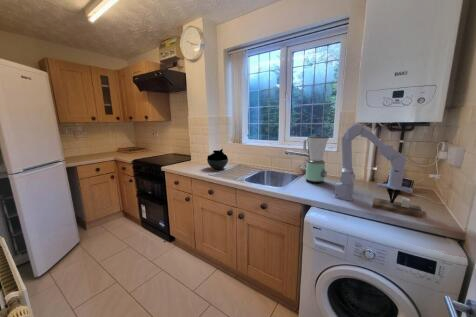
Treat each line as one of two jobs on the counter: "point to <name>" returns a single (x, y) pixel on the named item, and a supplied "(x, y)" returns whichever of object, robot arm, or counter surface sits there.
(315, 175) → the green blender
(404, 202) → the fader
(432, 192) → the counter surface
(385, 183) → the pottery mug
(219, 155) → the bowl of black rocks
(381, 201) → the brown flat slab
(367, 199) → the counter surface
